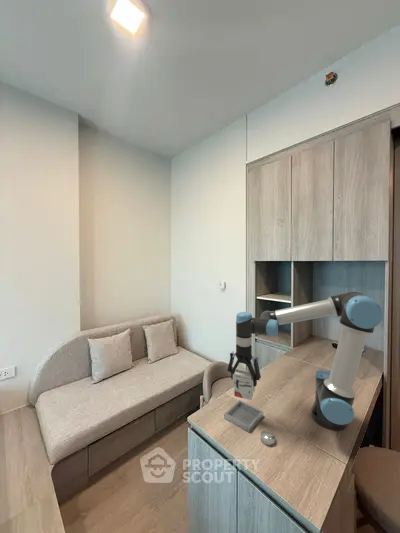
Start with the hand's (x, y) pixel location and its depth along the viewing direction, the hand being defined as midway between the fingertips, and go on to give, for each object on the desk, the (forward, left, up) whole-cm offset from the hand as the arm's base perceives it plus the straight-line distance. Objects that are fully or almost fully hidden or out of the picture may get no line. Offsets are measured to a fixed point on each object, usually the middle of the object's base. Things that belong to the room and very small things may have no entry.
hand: (243, 388), depth 111 cm
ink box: (0, 0, -4) cm, 4 cm away
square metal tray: (0, 0, -15) cm, 15 cm away
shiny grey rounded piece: (-15, +5, -15) cm, 22 cm away
